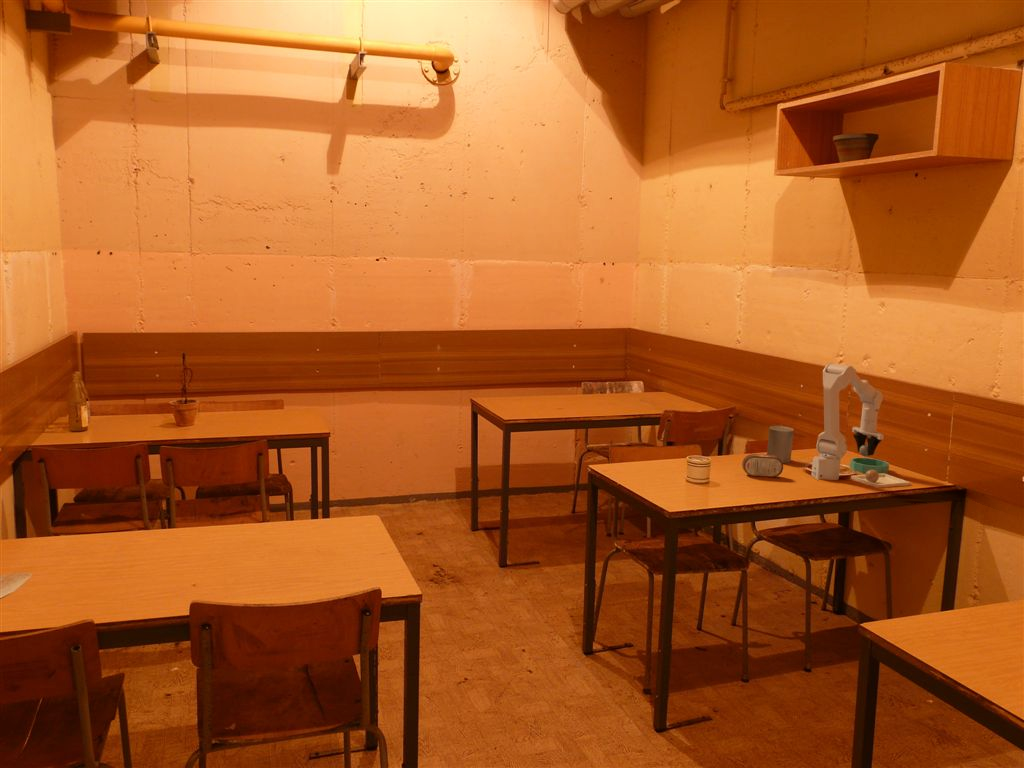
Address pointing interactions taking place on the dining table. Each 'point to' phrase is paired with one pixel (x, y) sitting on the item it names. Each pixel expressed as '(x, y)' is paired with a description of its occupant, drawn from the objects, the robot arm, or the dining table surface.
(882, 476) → the tray
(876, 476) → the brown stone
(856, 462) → the teal bowl
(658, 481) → the dining table surface
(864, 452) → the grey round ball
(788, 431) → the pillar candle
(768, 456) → the tin
